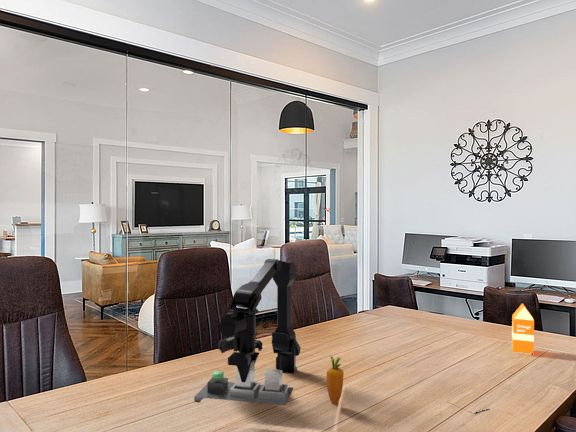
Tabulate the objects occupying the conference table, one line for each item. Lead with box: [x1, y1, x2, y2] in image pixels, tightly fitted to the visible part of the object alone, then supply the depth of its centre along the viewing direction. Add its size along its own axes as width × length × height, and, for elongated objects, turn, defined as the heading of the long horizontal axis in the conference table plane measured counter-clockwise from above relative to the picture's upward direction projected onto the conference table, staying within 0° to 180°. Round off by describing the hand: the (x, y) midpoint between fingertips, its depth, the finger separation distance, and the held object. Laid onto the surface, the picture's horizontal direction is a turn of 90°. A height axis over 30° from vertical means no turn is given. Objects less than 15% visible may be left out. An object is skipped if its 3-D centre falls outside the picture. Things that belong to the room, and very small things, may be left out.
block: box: [264, 368, 283, 392], centre depth 145 cm, size 4×4×7 cm
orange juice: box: [511, 303, 535, 354], centre depth 198 cm, size 8×9×20 cm
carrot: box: [326, 355, 344, 405], centre depth 140 cm, size 5×5×15 cm
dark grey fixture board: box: [193, 377, 294, 406], centre depth 147 cm, size 28×14×4 cm, turn 79°
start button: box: [211, 370, 225, 380], centre depth 149 cm, size 4×4×2 cm
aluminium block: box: [236, 360, 255, 387], centre depth 147 cm, size 4×4×7 cm
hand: (245, 379), depth 147 cm, fingers closed on aluminium block, 4 cm apart
